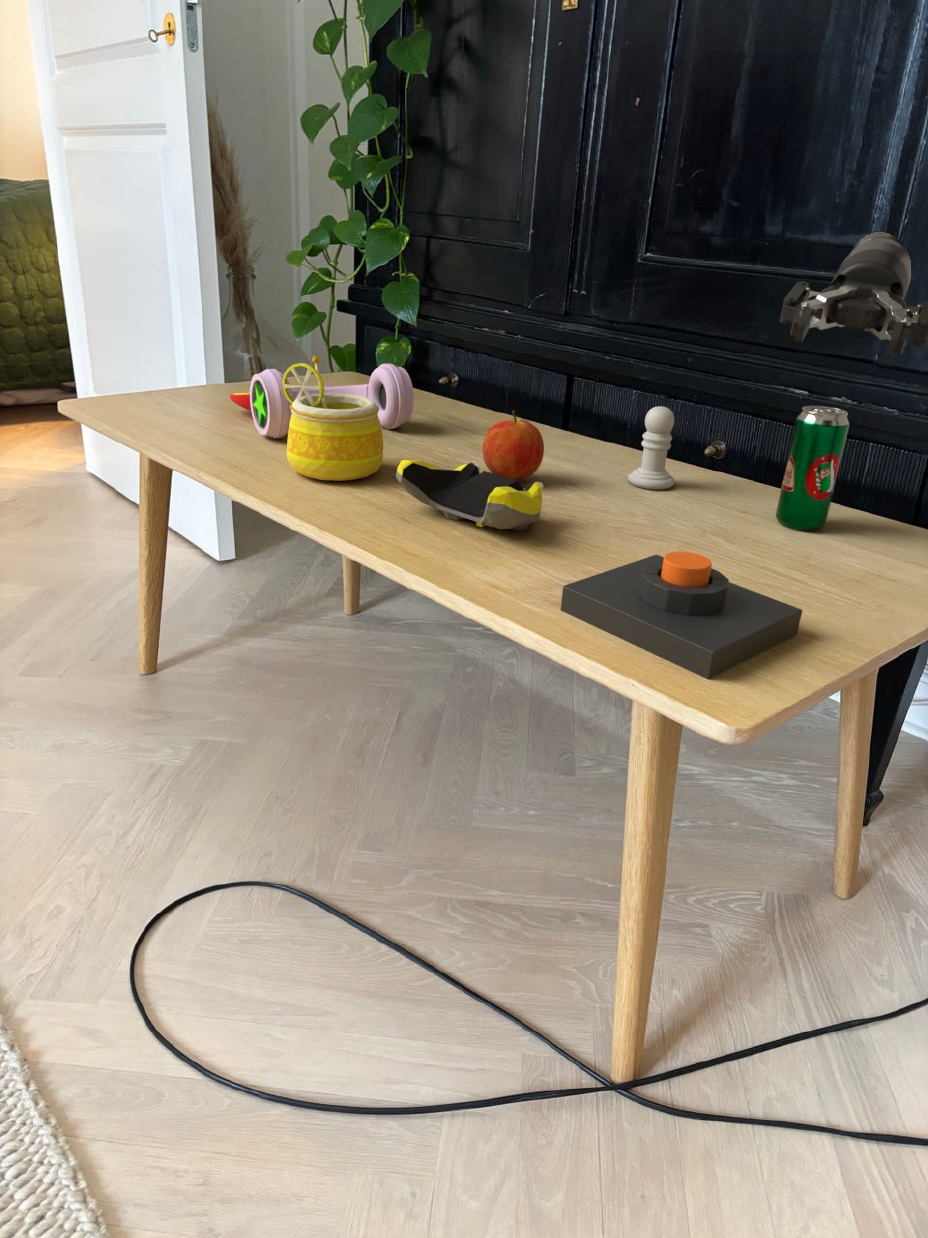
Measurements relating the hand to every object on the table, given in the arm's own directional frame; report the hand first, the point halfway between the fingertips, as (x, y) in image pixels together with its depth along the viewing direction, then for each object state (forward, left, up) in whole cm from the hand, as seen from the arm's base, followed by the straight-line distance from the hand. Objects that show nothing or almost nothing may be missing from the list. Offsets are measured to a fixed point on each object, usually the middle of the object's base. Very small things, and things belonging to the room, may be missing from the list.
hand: (845, 340), depth 88 cm
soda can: (0, +1, -19) cm, 19 cm away
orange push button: (-7, +32, -15) cm, 36 cm away
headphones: (+62, +20, -19) cm, 68 cm away
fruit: (+28, +16, -19) cm, 37 cm away
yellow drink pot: (+42, +31, -19) cm, 55 cm away
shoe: (+20, +29, -19) cm, 40 cm away
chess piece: (+18, +3, -19) cm, 26 cm away
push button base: (-7, +32, -19) cm, 38 cm away
